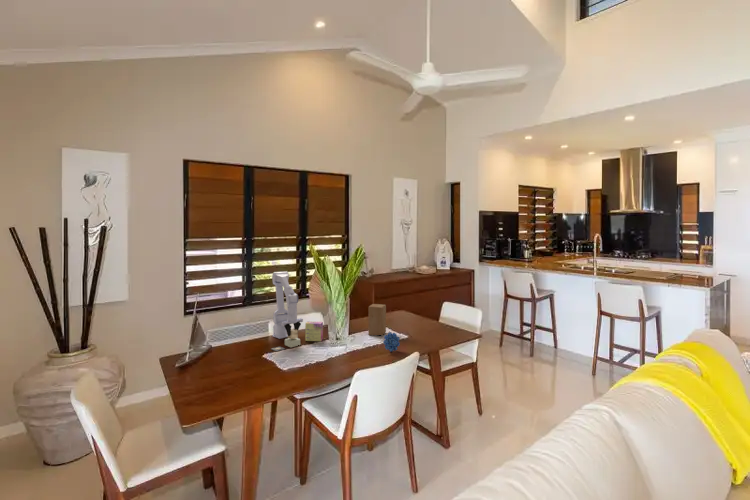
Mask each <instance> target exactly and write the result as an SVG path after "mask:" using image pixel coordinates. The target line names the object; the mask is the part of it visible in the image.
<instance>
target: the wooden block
mask: <svg viewBox="0 0 750 500" xmlns="http://www.w3.org/2000/svg"><path fill="white" fill-rule="evenodd" d="M385 332H387V305H386V304H381V303H380V304H379V303H372V304H370V305H369V306H368V331H367V333H368V336H374V335H383V334H384V333H385ZM385 334H386V333H385ZM385 334H384V335H385ZM384 335H383V336H384Z"/></svg>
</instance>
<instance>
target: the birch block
mask: <svg viewBox="0 0 750 500" xmlns="http://www.w3.org/2000/svg"><path fill="white" fill-rule="evenodd" d="M288 338H290V339H295V338H298V339H299V329H298V330H296V329H294V328H291V335H290V336H288V337H287V339H288Z"/></svg>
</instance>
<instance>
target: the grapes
mask: <svg viewBox="0 0 750 500" xmlns="http://www.w3.org/2000/svg"><path fill="white" fill-rule="evenodd" d="M383 336H384V340H383V343H382V344H383V345H384V348H385V350H388V351H389V352H391V353H393V352H394V351H397V350H398V347H400V345H401V344H400V343H401V342H400V337H399V336H398V335H397V332H391V331H389V332H388V333H387V334H384V335H383Z"/></svg>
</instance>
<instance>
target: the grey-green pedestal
mask: <svg viewBox="0 0 750 500" xmlns="http://www.w3.org/2000/svg"><path fill="white" fill-rule="evenodd" d="M298 345H299V346H301V339H300V338H299V337H298V338H295V339H290V338H288V337H287V338H285V339H284V346H285V347H289V348H294V347H299V346H298Z"/></svg>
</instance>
